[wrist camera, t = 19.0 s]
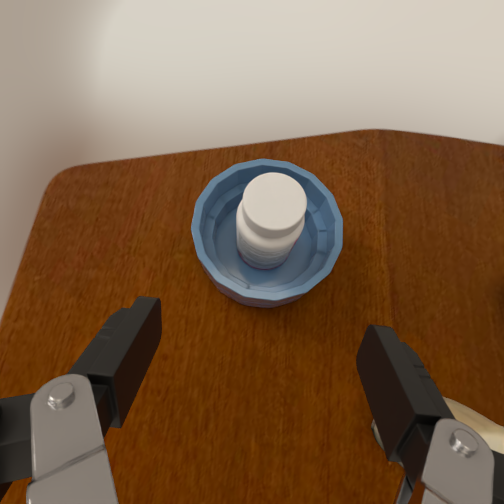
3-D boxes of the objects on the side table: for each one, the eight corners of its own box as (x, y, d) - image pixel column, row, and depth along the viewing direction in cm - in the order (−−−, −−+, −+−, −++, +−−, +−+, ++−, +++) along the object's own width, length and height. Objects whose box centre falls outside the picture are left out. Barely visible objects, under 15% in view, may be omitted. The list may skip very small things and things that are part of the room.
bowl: (190, 299, 25) (178, 288, 20) (211, 184, 28) (205, 151, 23) (321, 315, 25) (341, 308, 20) (326, 198, 28) (344, 168, 23)
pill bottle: (295, 266, 25) (322, 230, 17) (241, 275, 25) (242, 242, 17) (284, 217, 27) (303, 162, 19) (232, 224, 26) (229, 171, 18)
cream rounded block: (416, 482, 21) (516, 558, 14) (353, 439, 22) (414, 490, 14) (443, 407, 23) (545, 438, 15) (383, 370, 24) (453, 382, 16)
